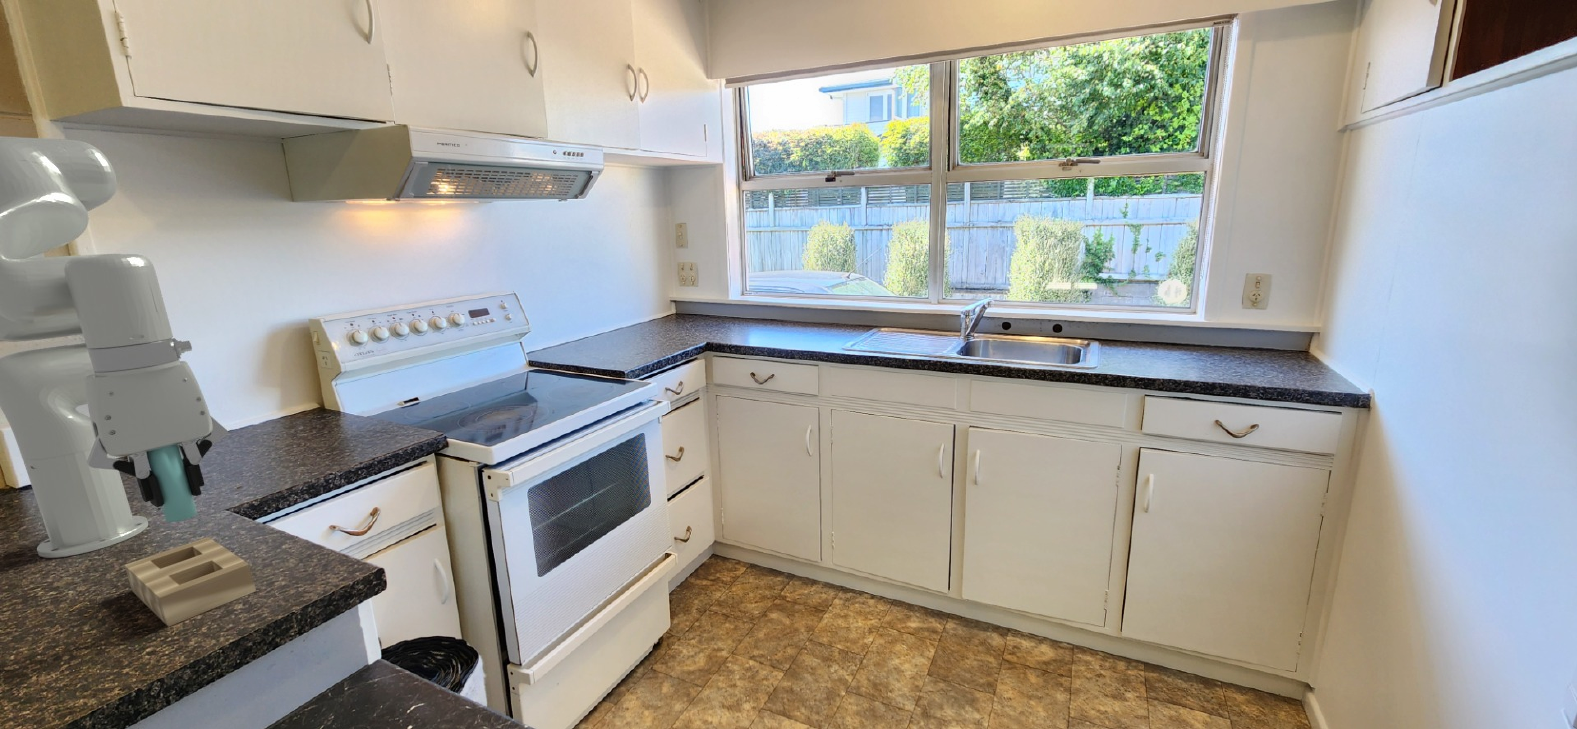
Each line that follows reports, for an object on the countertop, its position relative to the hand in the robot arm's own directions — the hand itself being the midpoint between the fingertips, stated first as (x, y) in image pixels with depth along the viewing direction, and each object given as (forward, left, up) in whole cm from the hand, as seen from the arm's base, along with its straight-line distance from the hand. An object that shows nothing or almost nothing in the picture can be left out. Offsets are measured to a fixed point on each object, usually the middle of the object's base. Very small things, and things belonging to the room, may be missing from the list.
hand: (176, 497), depth 84 cm
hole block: (-4, 0, -15) cm, 15 cm away
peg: (0, 0, -3) cm, 3 cm away
